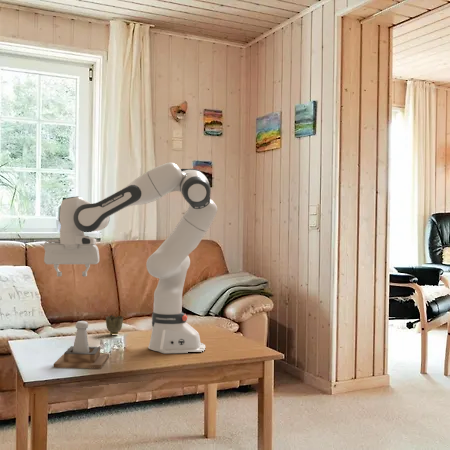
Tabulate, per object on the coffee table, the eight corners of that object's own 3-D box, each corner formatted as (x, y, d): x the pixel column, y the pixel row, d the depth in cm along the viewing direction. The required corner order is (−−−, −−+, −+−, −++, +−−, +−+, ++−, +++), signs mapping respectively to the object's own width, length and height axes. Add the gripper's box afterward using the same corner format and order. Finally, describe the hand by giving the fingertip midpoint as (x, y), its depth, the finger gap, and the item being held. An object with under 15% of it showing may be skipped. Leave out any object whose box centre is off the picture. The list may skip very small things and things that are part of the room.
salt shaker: (78, 361, 202) (79, 323, 202) (69, 358, 206) (70, 321, 205) (92, 358, 206) (93, 321, 206) (82, 355, 210) (83, 319, 210)
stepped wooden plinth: (108, 356, 214) (109, 345, 214) (101, 368, 198) (101, 356, 198) (64, 355, 213) (65, 344, 213) (53, 367, 197) (53, 354, 197)
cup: (124, 333, 255) (125, 315, 255) (120, 337, 248) (120, 318, 247) (108, 333, 256) (108, 314, 255) (102, 336, 248) (103, 317, 248)
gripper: (41, 239, 217) (41, 277, 217) (97, 239, 218) (97, 276, 218) (46, 239, 223) (46, 275, 223) (100, 239, 224) (100, 275, 224)
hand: (72, 276), depth 220 cm, fingers open, 8 cm apart
